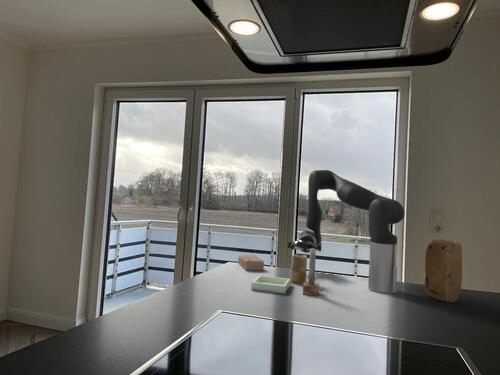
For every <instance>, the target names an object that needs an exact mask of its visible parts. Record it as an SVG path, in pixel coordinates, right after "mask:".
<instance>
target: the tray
mask: <svg viewBox="0 0 500 375" xmlns="http://www.w3.org/2000/svg"><path fill="white" fill-rule="evenodd" d="M250 283H251V285H250V291H257V292H258V291H259V292H265V293H266V292H267V293H274V294H275V293H276V294H282V295H285V294H286V293H287V291H288V290H289V289H290V287H291V278H288V277H287V278H285V277H277V276H270V275H269V276H268V275H258V276H257V277H255V279H254V280H253V281H252V282H250Z"/></svg>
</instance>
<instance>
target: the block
mask: <svg viewBox="0 0 500 375" xmlns="http://www.w3.org/2000/svg"><path fill="white" fill-rule="evenodd" d="M424 264H425V265H424V268H425V271H424V272H425V278H424V293H425V294H426V295H427V296H428V297H430V298H432V299H434V298H435V300H437V299H438V300H437V301H439V300H441V301H440V302H443V301H446V302H445V303H455V302H454V301H456V302H457V301H458V299H459V296H460V294H461V292H462V282H463V281H462V280H463V279H462V278H463V276H462V275H463V248H462V245H461V243H460V242H454V241H452V240H446V239H433V240H432V241H430V242H429V243H428V245H427V247H426V250H425V259H424Z"/></svg>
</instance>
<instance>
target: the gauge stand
mask: <svg viewBox="0 0 500 375" xmlns="http://www.w3.org/2000/svg"><path fill="white" fill-rule="evenodd" d="M316 254H317V251H316V249H310V252H309V261H308V262H309V265H308V281H306V282H305V283H304V284H302V295H307V296H314V297H319V294H320V282H319V283H317V282H316V281H315V280H316V279H315V277H316V260H317V259H316V256H317V255H316Z"/></svg>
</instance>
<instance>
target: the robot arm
mask: <svg viewBox="0 0 500 375" xmlns="http://www.w3.org/2000/svg"><path fill="white" fill-rule="evenodd" d="M307 190H308V191H307V192H308V196H307V199H308V201H307V202H308V207H307V216H306V221H305V226H306V227H305V228H307V229H308V230H303V231H302V232H301V233H300V235H299V239H298V240H297V241H295V242H294V240H289V241H288V242H287V248H288V249H291V250H293V251H294V250H297V251H298V250H300V251H301V252H302V253H306V254H308V253H309V254H310V249H316V252H317V251H318V252H322V233H321V223H322V219H323V210H322V207H321V205H320V203H319V199H318V194H319V191H321V190H331V191H333V192H336V196H337V199H339V200H340V201H341V202H343V203H344V204H346V205H348V206H350V207H353V208H355V209H360V210H363V211H368V234H369V239H370V241H369V242H370V243H369V244H370V245H369V259H368V260H369V264H368V265H369V266H368V282H367V283H368V286H367V287H368V289H369V290H370V291H373V292H375V293H376V292H377V293H381V294H397V280H398V279H397V278H398V266H397V255H398V254H397V253H398V252H397V251H398V236H397V235H395V234H393V233H392V232H391V231H390V228H389V226H390V225H396V224H398V223H400V222H402V221H403V219H404V218H405V209H404V207H403V205H402V204H401V202H399V201H397V200H396V199H392V198H388V197H386V196H382V195H381V194H380V195H379V194H377V193H376V192H374V191H372V190H370V189H367V188H366V187H364V186H361V185H360V184H358V183H355V182H354V181H350V180H348V179H345V178H343V177H341V176H339V175H338V174H337V173H336V172H333V171H331V170H329V169H318V170H312V171H310V174H309V176H308V188H307ZM310 230H311V231H310Z"/></svg>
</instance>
